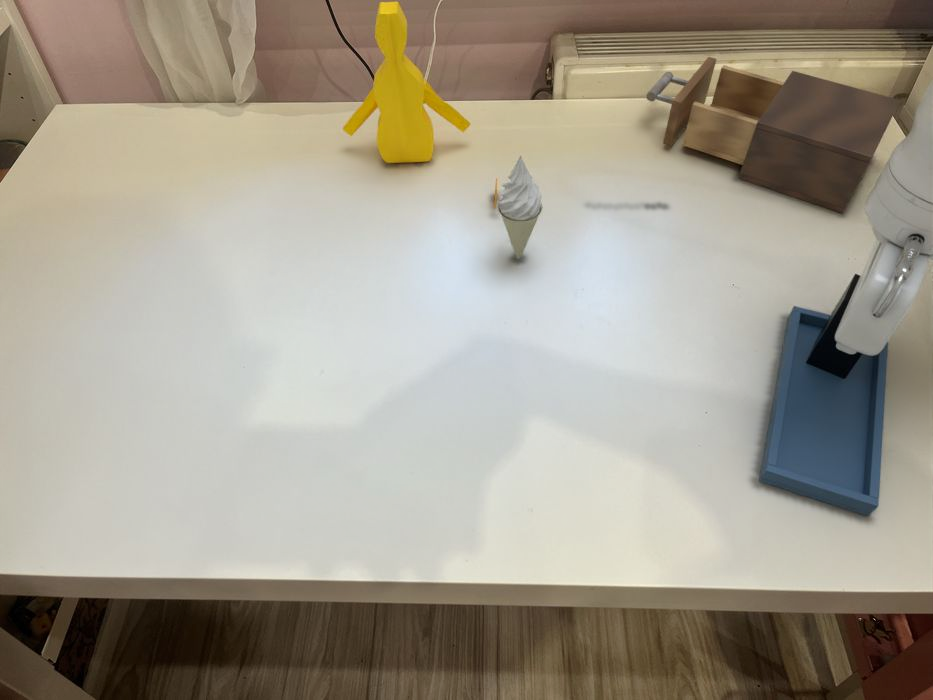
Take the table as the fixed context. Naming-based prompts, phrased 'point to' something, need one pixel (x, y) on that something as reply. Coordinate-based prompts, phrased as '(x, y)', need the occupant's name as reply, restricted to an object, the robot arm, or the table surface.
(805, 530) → the table surface
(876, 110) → the small wooden cabinet
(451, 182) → the table surface
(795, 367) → the tray
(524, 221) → the ice cream cone
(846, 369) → the block
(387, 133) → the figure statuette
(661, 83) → the drawer
